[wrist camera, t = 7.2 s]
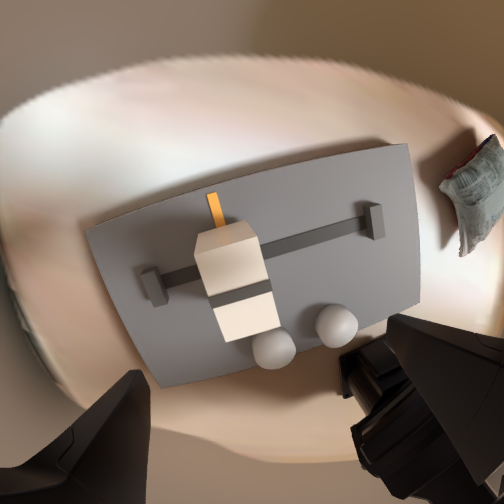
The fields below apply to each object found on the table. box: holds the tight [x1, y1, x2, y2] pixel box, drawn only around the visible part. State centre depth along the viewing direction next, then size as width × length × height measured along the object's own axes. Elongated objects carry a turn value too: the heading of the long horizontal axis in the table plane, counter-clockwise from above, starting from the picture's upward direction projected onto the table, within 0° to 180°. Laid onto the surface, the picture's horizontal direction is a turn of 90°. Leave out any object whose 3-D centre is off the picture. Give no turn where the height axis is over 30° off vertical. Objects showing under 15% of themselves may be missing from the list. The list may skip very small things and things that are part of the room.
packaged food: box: [439, 134, 504, 257], centre depth 20 cm, size 9×12×5 cm
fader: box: [194, 220, 281, 342], centre depth 15 cm, size 3×5×5 cm, turn 15°
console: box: [84, 144, 420, 389], centre depth 19 cm, size 24×14×4 cm, turn 105°
